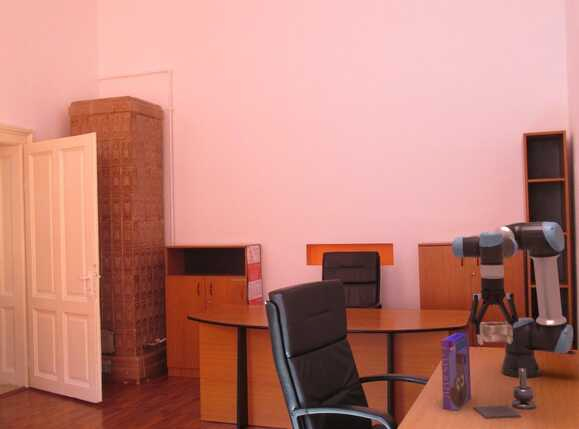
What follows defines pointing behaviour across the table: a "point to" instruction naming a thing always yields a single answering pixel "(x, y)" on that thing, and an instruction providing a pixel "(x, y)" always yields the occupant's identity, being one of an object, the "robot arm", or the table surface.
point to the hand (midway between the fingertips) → (494, 343)
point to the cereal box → (455, 371)
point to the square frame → (496, 331)
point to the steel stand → (523, 393)
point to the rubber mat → (497, 411)
